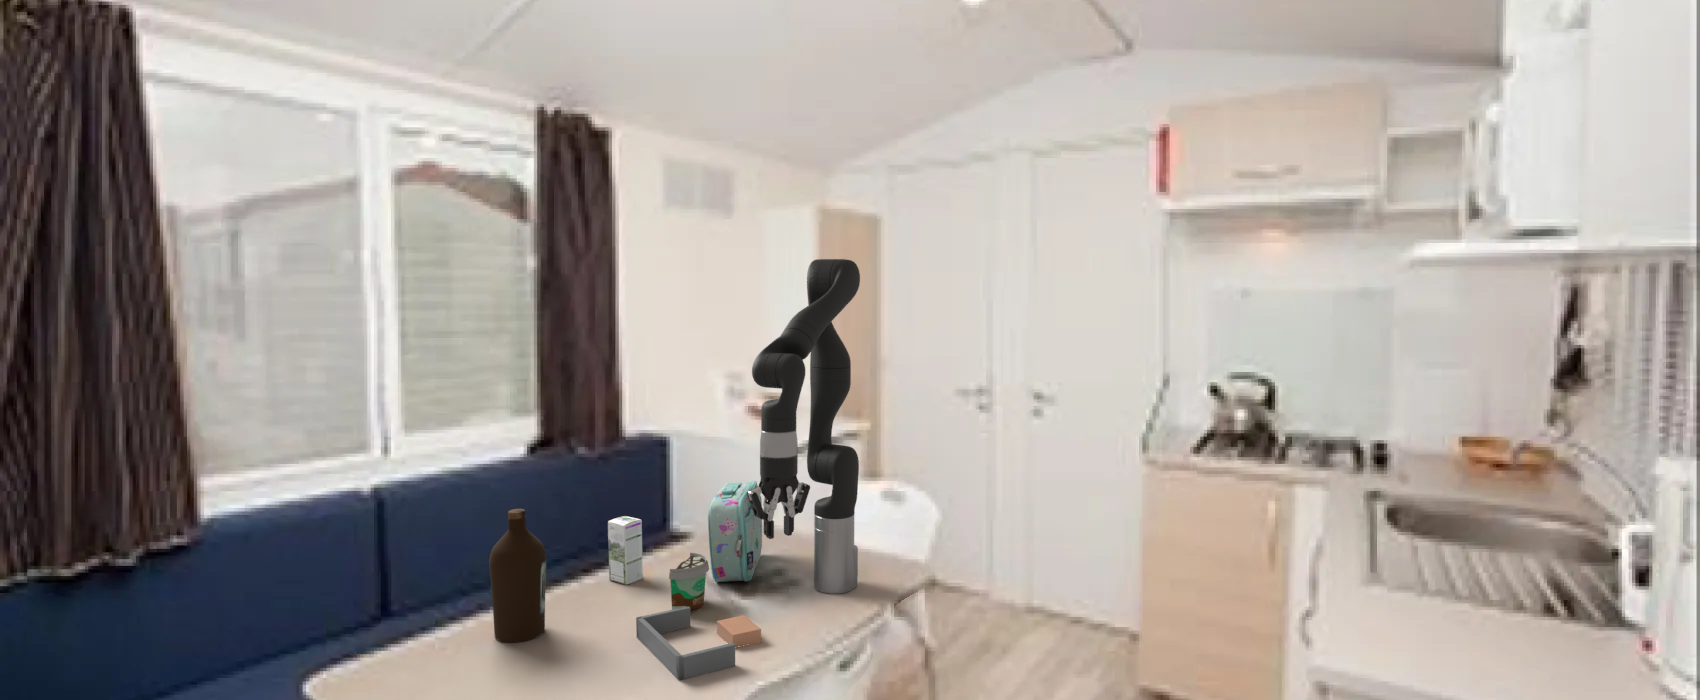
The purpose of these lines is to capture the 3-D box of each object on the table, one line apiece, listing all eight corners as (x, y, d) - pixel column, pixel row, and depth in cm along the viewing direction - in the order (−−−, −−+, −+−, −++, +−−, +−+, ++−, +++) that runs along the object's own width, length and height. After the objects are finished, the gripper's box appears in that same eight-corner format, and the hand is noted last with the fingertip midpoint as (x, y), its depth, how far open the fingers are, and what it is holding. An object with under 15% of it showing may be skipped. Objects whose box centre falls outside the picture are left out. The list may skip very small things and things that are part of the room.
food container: (696, 618, 183) (696, 571, 182) (669, 616, 184) (668, 569, 183) (717, 597, 195) (717, 553, 194) (691, 595, 196) (691, 551, 195)
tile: (744, 629, 178) (744, 615, 178) (761, 643, 171) (761, 628, 171) (716, 635, 175) (716, 620, 175) (732, 650, 168) (732, 635, 168)
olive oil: (493, 648, 168) (489, 520, 165) (489, 628, 177) (486, 507, 175) (551, 638, 172) (548, 514, 170) (544, 619, 182) (541, 501, 180)
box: (688, 625, 179) (688, 606, 179) (735, 665, 161) (735, 644, 160) (636, 636, 173) (636, 617, 173) (678, 680, 155) (678, 658, 154)
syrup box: (643, 578, 207) (643, 518, 205) (625, 585, 202) (624, 524, 200) (626, 573, 210) (625, 514, 208) (607, 581, 205) (606, 520, 203)
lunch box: (751, 590, 199) (751, 498, 197) (706, 590, 199) (705, 498, 198) (764, 553, 226) (764, 472, 224) (724, 553, 226) (724, 471, 224)
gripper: (800, 445, 182) (800, 526, 183) (738, 452, 174) (738, 537, 176) (818, 451, 176) (818, 535, 177) (755, 459, 168) (755, 546, 170)
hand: (778, 535), depth 177 cm, fingers open, 3 cm apart
